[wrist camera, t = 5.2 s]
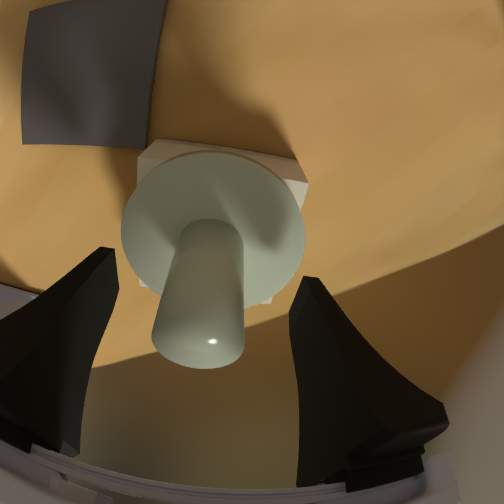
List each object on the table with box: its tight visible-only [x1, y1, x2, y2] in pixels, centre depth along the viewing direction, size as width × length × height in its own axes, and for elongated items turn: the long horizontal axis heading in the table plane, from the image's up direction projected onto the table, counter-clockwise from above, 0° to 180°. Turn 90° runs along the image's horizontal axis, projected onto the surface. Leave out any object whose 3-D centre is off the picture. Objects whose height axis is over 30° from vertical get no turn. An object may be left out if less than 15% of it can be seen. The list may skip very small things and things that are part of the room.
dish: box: [137, 138, 309, 304], centre depth 14 cm, size 7×7×3 cm
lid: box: [121, 150, 306, 369], centre depth 11 cm, size 8×8×6 cm
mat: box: [21, 0, 168, 149], centre depth 10 cm, size 8×8×1 cm
